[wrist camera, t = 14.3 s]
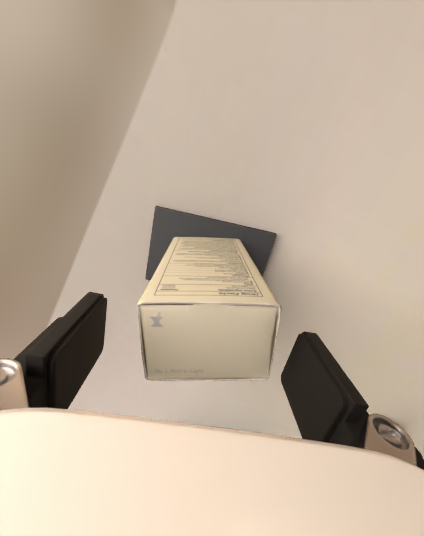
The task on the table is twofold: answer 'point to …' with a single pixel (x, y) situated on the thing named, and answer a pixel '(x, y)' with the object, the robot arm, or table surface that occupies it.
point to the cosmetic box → (207, 314)
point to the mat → (192, 225)
